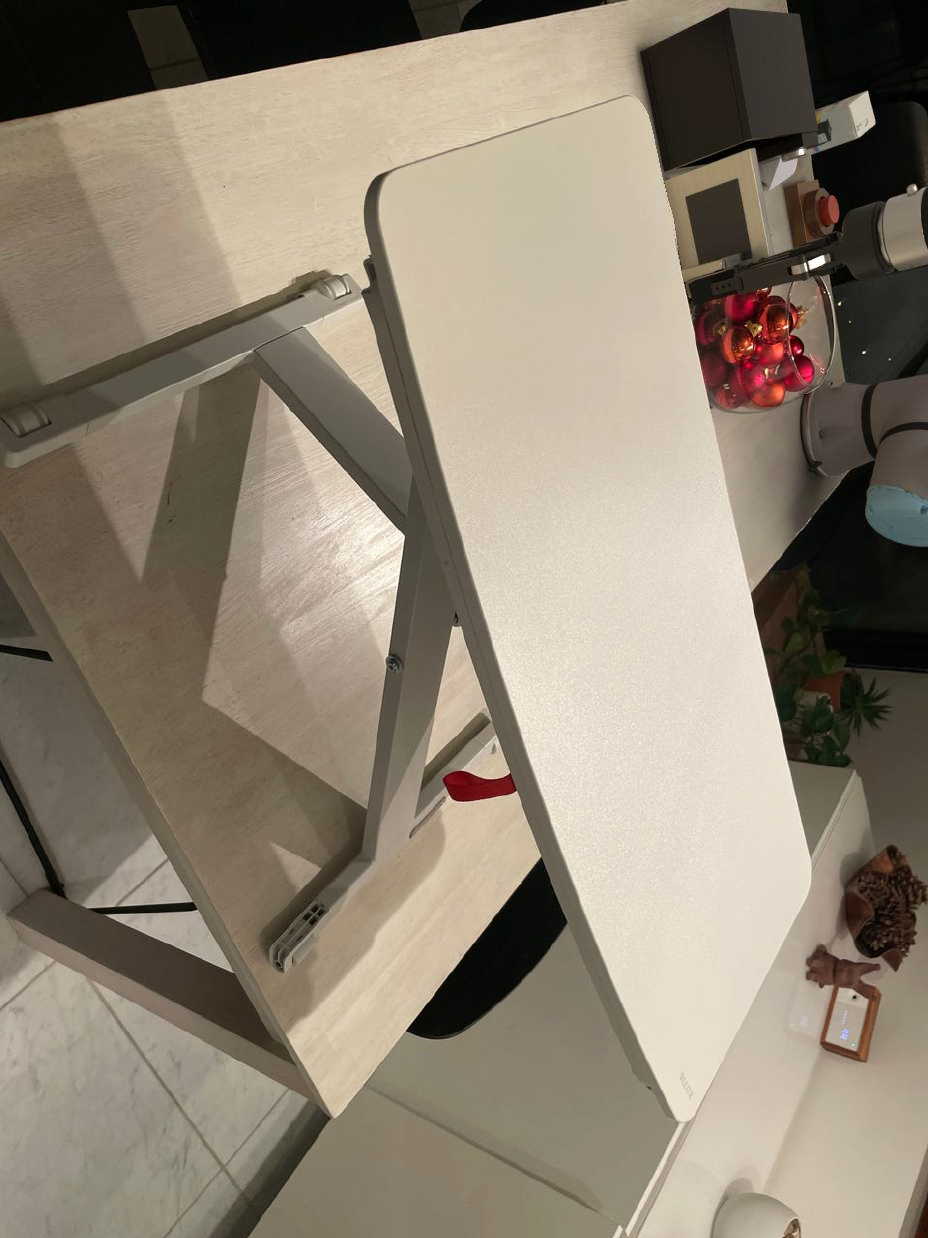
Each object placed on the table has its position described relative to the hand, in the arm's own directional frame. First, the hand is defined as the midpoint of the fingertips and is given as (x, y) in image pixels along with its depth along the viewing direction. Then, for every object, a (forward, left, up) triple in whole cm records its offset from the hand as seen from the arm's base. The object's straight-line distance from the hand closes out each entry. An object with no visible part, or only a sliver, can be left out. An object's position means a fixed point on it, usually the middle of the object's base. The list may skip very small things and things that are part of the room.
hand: (694, 292), depth 117 cm
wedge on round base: (+35, -9, -4) cm, 36 cm away
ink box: (+44, -15, -4) cm, 47 cm away
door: (+6, +4, -4) cm, 8 cm away
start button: (+37, -24, 0) cm, 44 cm away
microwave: (+25, +6, -4) cm, 26 cm away
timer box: (+37, -24, -4) cm, 44 cm away
